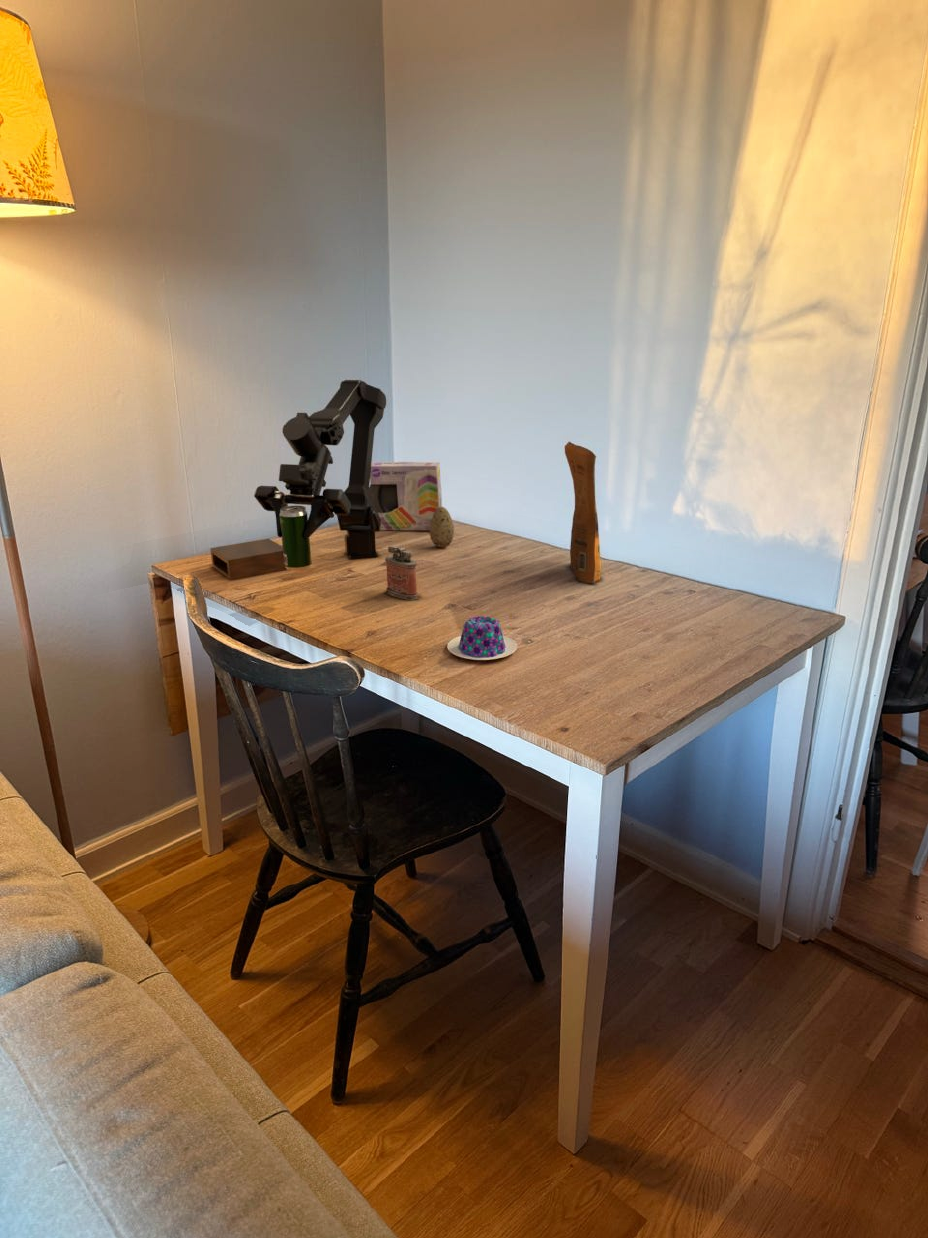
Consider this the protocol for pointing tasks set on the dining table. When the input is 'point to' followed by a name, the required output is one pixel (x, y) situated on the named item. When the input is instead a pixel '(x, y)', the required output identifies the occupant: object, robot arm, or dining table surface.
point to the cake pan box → (405, 493)
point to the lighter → (401, 574)
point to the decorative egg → (441, 528)
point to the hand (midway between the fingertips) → (292, 537)
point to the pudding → (482, 640)
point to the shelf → (248, 558)
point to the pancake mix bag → (584, 515)
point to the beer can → (295, 538)
